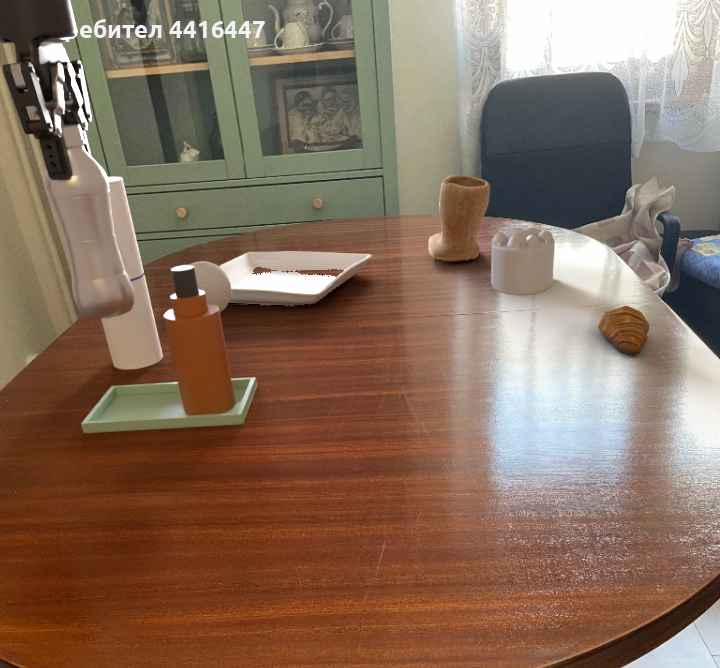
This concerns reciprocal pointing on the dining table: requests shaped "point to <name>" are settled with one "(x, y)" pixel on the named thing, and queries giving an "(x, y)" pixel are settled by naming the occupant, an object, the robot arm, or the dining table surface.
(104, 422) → the tray
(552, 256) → the lumpy-topped squat cylinder
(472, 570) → the dining table surface
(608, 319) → the croissant
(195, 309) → the amber bottle
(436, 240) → the clay boot
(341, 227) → the dining table surface
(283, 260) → the square plate
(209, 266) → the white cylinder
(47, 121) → the robot arm
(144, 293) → the cylindrical container
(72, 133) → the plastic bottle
